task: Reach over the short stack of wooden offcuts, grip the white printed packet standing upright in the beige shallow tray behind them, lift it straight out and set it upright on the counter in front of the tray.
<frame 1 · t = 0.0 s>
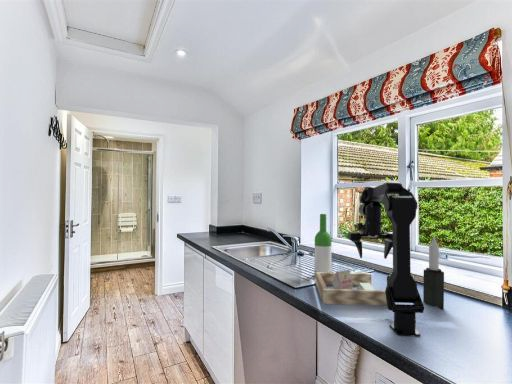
hand: (373, 258, 115), 15 cm above the countertop, tool pointing down, fingers open, 9 cm apart
white printed packet: (342, 296, 114), resting in beige shallow tray
beige shallow tray: (342, 296, 114), on the countertop
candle: (433, 307, 104), on the countertop
offcut low: (369, 298, 113), on the countertop, touching offcut top
wine bottle: (322, 278, 137), on the countertop
offcut top: (368, 293, 113), point 1 cm above the countertop, touching offcut low
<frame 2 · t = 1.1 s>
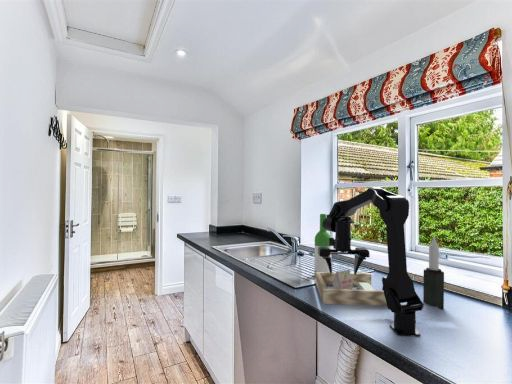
hand: (342, 274, 114), 9 cm above the countertop, tool pointing down, fingers open, 9 cm apart
nothing on the countertop moved.
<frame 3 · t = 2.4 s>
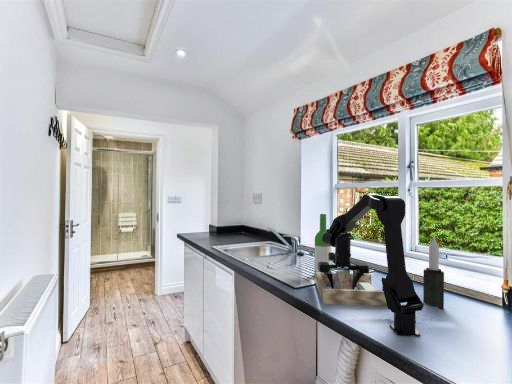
hand: (342, 289, 114), 3 cm above the countertop, tool pointing down, fingers closed on white printed packet, 8 cm apart
white printed packet: (342, 296, 114), resting in beige shallow tray, touching gripper
everything else where it was.
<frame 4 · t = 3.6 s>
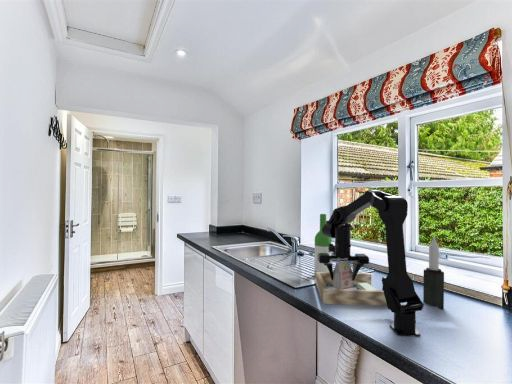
hand: (342, 280, 114), 6 cm above the countertop, tool pointing down, fingers closed on white printed packet, 8 cm apart
white printed packet: (342, 287, 114), point 3 cm above the countertop, touching gripper
everything else where it was.
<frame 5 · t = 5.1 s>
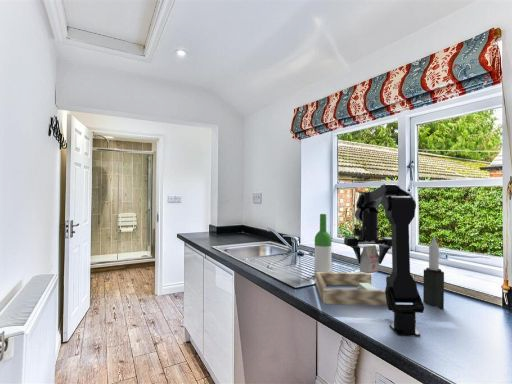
hand: (369, 263, 115), 12 cm above the countertop, tool pointing down, fingers closed on white printed packet, 8 cm apart
white printed packet: (369, 271, 115), point 9 cm above the countertop, touching gripper
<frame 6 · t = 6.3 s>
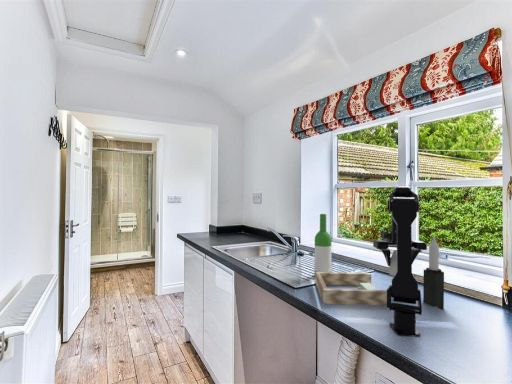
hand: (399, 266, 116), 11 cm above the countertop, tool pointing down, fingers closed on white printed packet, 8 cm apart
white printed packet: (399, 275, 116), point 8 cm above the countertop, touching gripper
everything else where it was.
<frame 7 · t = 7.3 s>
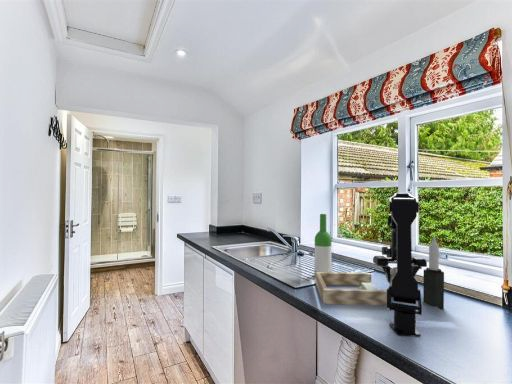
hand: (399, 282, 116), 5 cm above the countertop, tool pointing down, fingers closed on white printed packet, 8 cm apart
white printed packet: (398, 292, 116), point 1 cm above the countertop, touching gripper
everything else where it was.
when the fingers open (4 cm above the countertop, at t = 8.5 s): white printed packet stays where it is, on the countertop.
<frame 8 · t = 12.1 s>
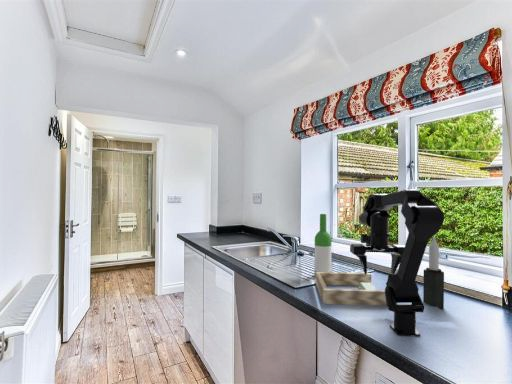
hand: (378, 274, 102), 12 cm above the countertop, tool pointing down, fingers open, 9 cm apart
white printed packet: (398, 294, 117), on the countertop
everything else where it was.
at the end: white printed packet inside the target area (0.0 cm from its centre), on the countertop; white printed packet tilted 0°; offcut top moved 0.8 cm from its start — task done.
